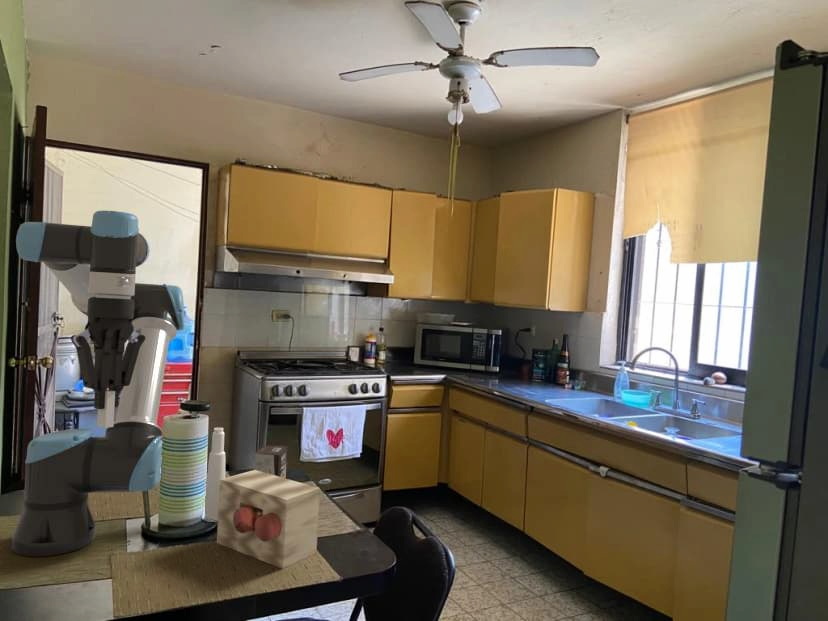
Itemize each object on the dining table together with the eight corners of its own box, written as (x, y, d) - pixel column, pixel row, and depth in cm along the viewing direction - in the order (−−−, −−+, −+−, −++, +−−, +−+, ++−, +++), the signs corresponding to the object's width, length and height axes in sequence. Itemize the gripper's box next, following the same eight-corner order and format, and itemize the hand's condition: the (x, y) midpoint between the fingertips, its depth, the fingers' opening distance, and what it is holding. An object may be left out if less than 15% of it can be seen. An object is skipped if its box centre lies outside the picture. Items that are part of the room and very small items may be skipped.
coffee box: (276, 520, 144) (279, 454, 143) (250, 518, 144) (253, 453, 144) (285, 507, 153) (288, 445, 153) (260, 505, 153) (263, 444, 153)
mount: (207, 546, 127) (210, 482, 126) (251, 529, 137) (254, 469, 137) (273, 573, 116) (277, 502, 116) (316, 552, 127) (319, 488, 126)
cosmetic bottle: (231, 518, 143) (236, 429, 143) (208, 524, 138) (213, 432, 138) (219, 512, 147) (223, 424, 147) (196, 517, 142) (200, 427, 142)
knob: (249, 535, 120) (250, 511, 120) (232, 529, 123) (233, 506, 122) (292, 518, 130) (293, 496, 130) (276, 513, 133) (277, 491, 133)
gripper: (87, 296, 99) (80, 435, 99) (156, 299, 110) (150, 424, 110) (63, 294, 103) (57, 428, 103) (133, 297, 114) (127, 418, 114)
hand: (105, 426), depth 107 cm, fingers closed
